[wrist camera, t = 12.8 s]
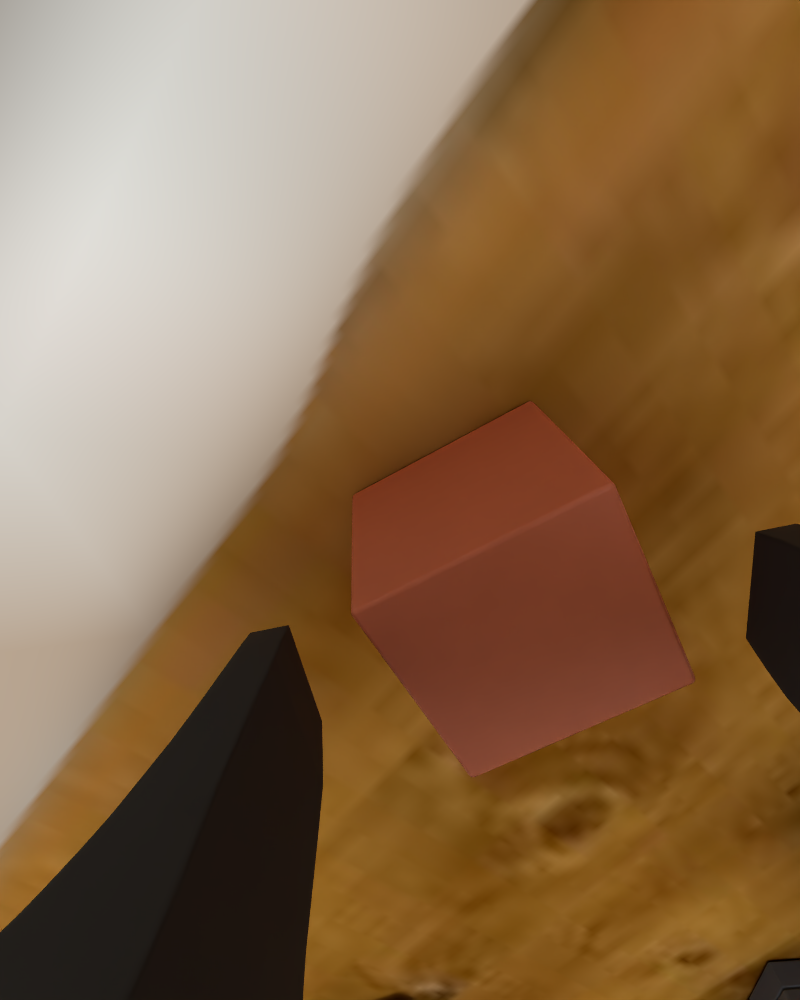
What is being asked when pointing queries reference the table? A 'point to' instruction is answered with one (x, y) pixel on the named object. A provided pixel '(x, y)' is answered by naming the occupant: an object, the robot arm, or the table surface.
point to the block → (510, 591)
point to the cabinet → (779, 982)
